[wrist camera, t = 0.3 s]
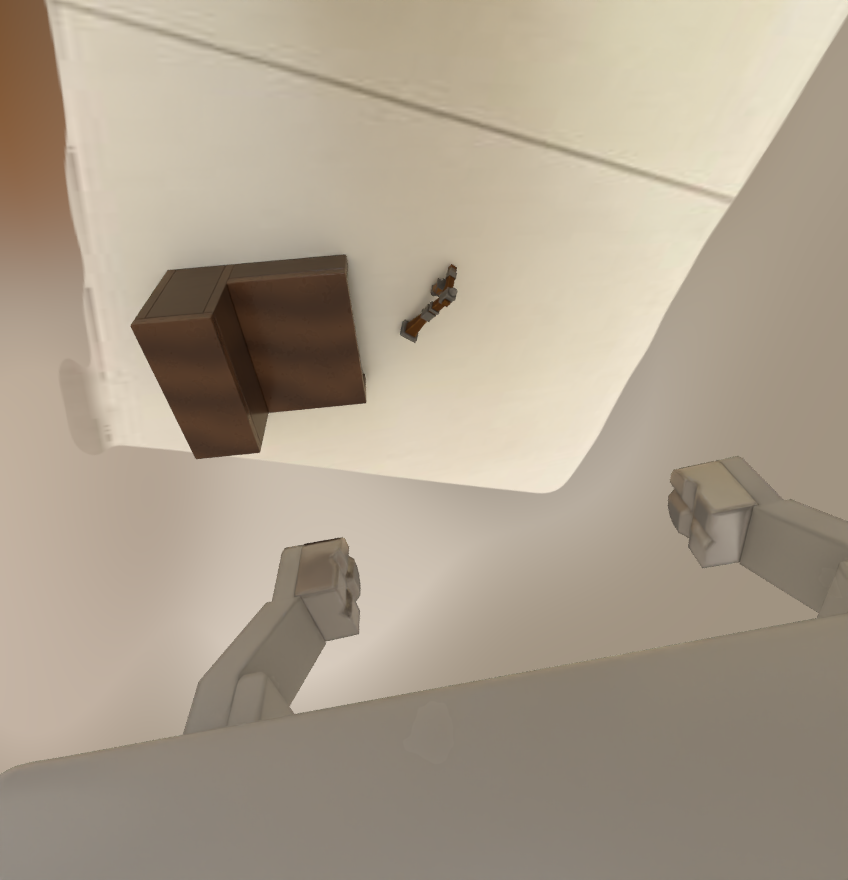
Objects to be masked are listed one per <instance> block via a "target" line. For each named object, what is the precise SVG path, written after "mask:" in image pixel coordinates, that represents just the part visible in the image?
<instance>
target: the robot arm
mask: <svg viewBox="0 0 848 880" xmlns="http://www.w3.org/2000/svg"><path fill="white" fill-rule="evenodd" d="M670 483H671V484H672V486H673V487H674V490H673V491H672V492H671V494H670V495H669V496H668V509H669V514H670V518H671V520H672V522H673V524H674V526H675V528H676V529H677V531H678V532H679V533H680V534H682V535H684V536H686V537H688V538H689V544H688V547H689V549H690V550H691V552H692V553H693V555H694V556H695V558H696V559H697V561H698V562H699V564H700V565H701V567H702V568H707V567H714V566H719V565H726V564H732V563H738V562H740V564H741V565H742V566H744V567H745V568H747V569H749V570H750V571H752V572H754V573H755V574H757V575H758V576H760V577H761V578H763V579H765V580H766V581H768V582H770V583H771V584H773V585H774V586H776V587H777V588H779V589H781V590H782V591H784V592H786V593H787V594H789V595H790V596H792V597H794V598H795V599H797V600H798V601H800V602H802V603H803V604H805V605H806V606H808V607H810V608H811V609H813V610H814V611H816V612H818V613H819V614H818V616H817V618H815V619H810V620H804V621H798V622H793V623H787V624H782V625H777V626H771V627H766V628H760V629H755V630H749V631H745V632H738V633H733V634H728V635H723V636H717V637H711V638H707V639H701V640H695V641H690V642H685V643H679V644H674V645H668V646H663V647H658V648H652V649H647V650H642V651H636V652H630V653H625V654H620V655H615V656H609V657H604V658H598V659H593V660H587V661H582V662H576V663H571V664H565V665H560V666H555V667H549V668H544V669H538V670H533V671H527V672H522V673H516V674H511V675H505V676H500V677H495V678H489V679H484V680H478V681H473V682H467V683H462V684H456V685H451V686H445V687H440V688H435V689H429V690H423V691H418V692H413V693H407V694H402V695H396V696H391V697H385V698H380V699H375V700H369V701H364V702H358V703H353V704H347V705H342V706H336V707H331V708H326V709H321V710H315V711H309V712H305V713H298V714H294V713H293V711H292V710H291V708H290V707H289V706H290V704H291V702H292V701H293V699H294V698H295V696H296V694H297V692H298V691H299V689H300V687H301V686H302V684H303V682H304V680H305V679H306V677H307V675H308V673H309V672H310V670H311V668H312V666H313V665H314V663H315V662H316V660H317V658H318V656H319V655H320V653H321V651H322V649H323V648H324V646H325V644H326V641H330V640H334V639H339V638H344V637H348V636H353V635H357V634H359V619H360V610H359V608H358V606H357V603H356V601H357V599H358V598H359V596H360V579H359V572H358V568H357V565H356V563H355V560H354V559H353V558H352V557H350V556H349V555H348V554H349V546H348V544H347V542H346V540H345V538H343V537H342V538H335V539H330V540H324V541H318V542H313V543H307V544H304V545H298V546H293V547H287V548H285V549H284V551H283V552H282V554H281V560H280V564H279V569H278V574H277V579H276V584H275V589H274V594H273V599H272V602H267V603H266V604H265V605H264V606H263V607H262V608H261V610H260V611H259V612H258V613H257V614H256V615H255V616H254V618H253V619H252V620H251V621H250V622H249V623H248V625H247V626H246V627H245V628H244V629H243V630H242V632H241V633H240V634H239V635H238V636H237V638H236V639H235V640H234V641H233V642H232V643H231V644H230V646H229V647H228V648H227V649H226V650H225V652H224V653H223V654H222V655H221V656H220V657H219V658H218V660H217V661H216V662H215V663H214V664H213V665H212V667H211V668H210V669H209V670H208V671H207V672H206V674H205V675H204V676H203V677H202V678H201V680H200V681H199V682H198V686H197V689H196V693H195V696H194V699H193V703H192V706H191V709H190V712H189V716H188V719H187V722H186V726H185V729H184V732H183V735H179V736H174V737H168V738H163V739H158V740H152V741H146V742H141V743H135V744H130V745H125V746H119V747H114V748H109V749H103V750H98V751H92V752H87V753H81V754H76V755H71V756H65V757H59V758H53V759H47V760H40V761H35V762H30V763H26V764H22V765H18V766H15V767H13V768H10V769H8V770H6V771H5V772H3V773H2V774H0V880H848V521H846V520H843V519H840V518H838V517H835V516H833V515H830V514H828V513H825V512H822V511H820V510H817V509H815V508H812V507H810V506H807V505H804V504H802V503H799V502H796V501H794V500H792V499H789V500H783V499H782V498H781V497H780V496H779V495H778V494H777V492H776V491H775V490H774V489H773V488H772V487H771V486H770V485H769V484H768V483H767V482H766V481H765V480H764V479H763V478H762V477H761V476H760V475H759V474H758V473H757V472H756V471H755V470H754V469H753V468H752V467H751V466H750V465H749V464H748V463H747V462H746V461H745V460H744V459H743V458H741V457H739V456H735V457H730V458H725V459H721V460H716V461H712V462H707V463H703V464H698V465H693V466H688V467H684V468H679V469H674V470H673V472H672V473H671V477H670Z"/></svg>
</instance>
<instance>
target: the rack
mask: <svg viewBox="0 0 848 880" xmlns="http://www.w3.org/2000/svg"><path fill="white" fill-rule="evenodd" d="M347 270H348V263H347V256H346V255H335V256H324V257H313V258H302V259H290V260H279V261H268V262H257V263H245V264H235V265H223V266H212V267H200V268H189V269H178V270H167V272H166V273H165V275H164V276H163V278H162V279H161V281H160V282H159V284H158V285H157V287H156V288H155V290H154V291H153V293H152V294H151V296H150V297H149V299H148V300H147V301H146V303H145V304H144V306H143V307H142V309H141V310H140V312H139V313H138V315H137V316H136V318H135V320H134V321H133V323H132V324H131V328H132V330H133V332H134V334H135V336H136V338H137V340H138V342H139V344H140V346H141V348H142V351H143V353H144V355H145V357H146V359H147V361H148V363H149V365H150V367H151V369H152V371H153V373H154V375H155V377H156V379H157V381H158V383H159V385H160V387H161V389H162V391H163V393H164V395H165V397H166V399H167V401H168V403H169V406H170V408H171V410H172V412H173V414H174V416H175V418H176V420H177V422H178V424H179V426H180V428H181V430H182V432H183V434H184V436H185V438H186V440H187V442H188V444H189V446H190V448H191V450H192V452H193V454H194V456H195V458H196V459H202V458H212V457H222V456H232V455H242V454H252V453H260V450H261V445H262V441H263V436H264V432H265V427H266V422H267V418H268V413H272V412H282V411H292V410H302V409H312V408H322V407H332V406H343V405H353V404H363V403H366V378H365V374H362V368H361V362H360V355H359V349H358V343H357V337H356V331H355V324H354V318H353V312H352V306H351V299H350V293H349V287H348V281H347Z"/></svg>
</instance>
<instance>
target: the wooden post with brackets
mask: <svg viewBox="0 0 848 880" xmlns="http://www.w3.org/2000/svg"><path fill="white" fill-rule="evenodd" d="M456 269H457V267H455V266H454V265H452V264H451V265H450V266H449V267H448V272H447V274H446V279H444V278H443V280H441V279H439V278H438V280H437V283H436V284H435V285H432V290H431V295H432V296H438V297H439V298H438V299H437V300H435V301H434V302H433V301H431V302H430V304H428V305H427V307H426V308H424V309H423V310H422V313H421V314H420V315H419V316H417V317H416V318H414V319H413V320H412V321H410V322H408V321H406V320H405V321H403V323H402V327H401V332H400V335H401V336H402V337H404V338H406V339H408V340H410V341H412V342H414V343H415V342H416V341H417V337H418V332H419V331H420V329H421V328H422V327H423V325H424V324H425V323H426V322H427V321H428V322H429V321H430V320H431V319H432V318H434V317H436V315H438V314H439V311H440V310H441V309H442V308H443V307H444V306H446V307H447V306H448V305H450V303H452V302H453V301H454V300H455V299H456V294H457V289H456V288H453V286H454V280H455V279H456V275H457V273H456V271H457V270H456Z"/></svg>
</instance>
